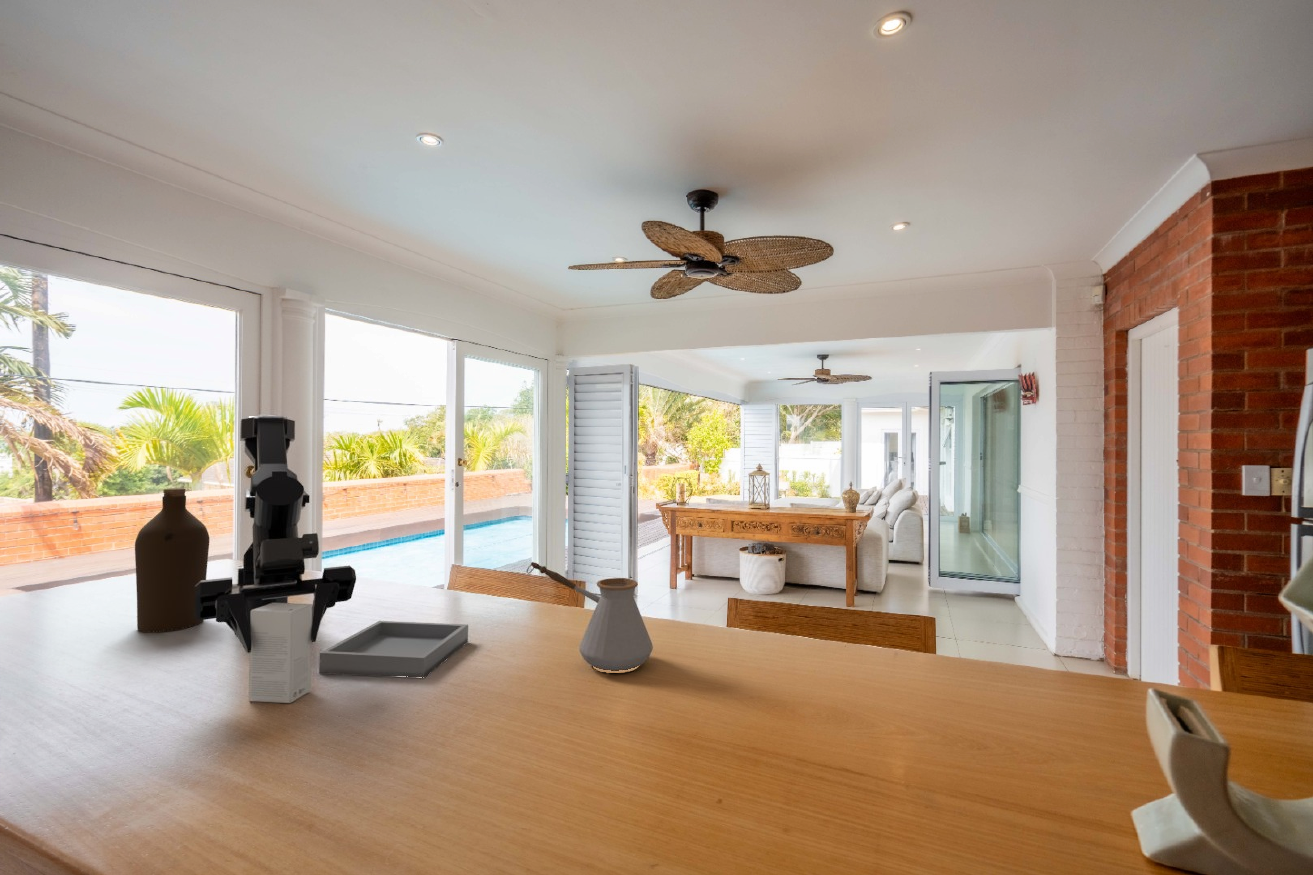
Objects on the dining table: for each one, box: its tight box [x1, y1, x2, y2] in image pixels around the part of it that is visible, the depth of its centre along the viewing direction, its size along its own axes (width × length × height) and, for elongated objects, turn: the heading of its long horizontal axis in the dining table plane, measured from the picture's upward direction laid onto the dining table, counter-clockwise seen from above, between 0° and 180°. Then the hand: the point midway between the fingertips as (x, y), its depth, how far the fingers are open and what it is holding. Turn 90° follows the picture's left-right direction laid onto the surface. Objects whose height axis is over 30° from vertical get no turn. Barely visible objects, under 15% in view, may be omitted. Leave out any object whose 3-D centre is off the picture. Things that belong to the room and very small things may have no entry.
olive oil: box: [134, 487, 210, 633], centre depth 109 cm, size 11×11×25 cm
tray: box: [318, 620, 469, 678], centre depth 95 cm, size 16×16×3 cm
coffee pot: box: [526, 561, 654, 671], centre depth 94 cm, size 21×12×15 cm, turn 73°
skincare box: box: [248, 602, 313, 704], centre depth 79 cm, size 6×4×12 cm
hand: (282, 645), depth 78 cm, fingers closed on skincare box, 7 cm apart
